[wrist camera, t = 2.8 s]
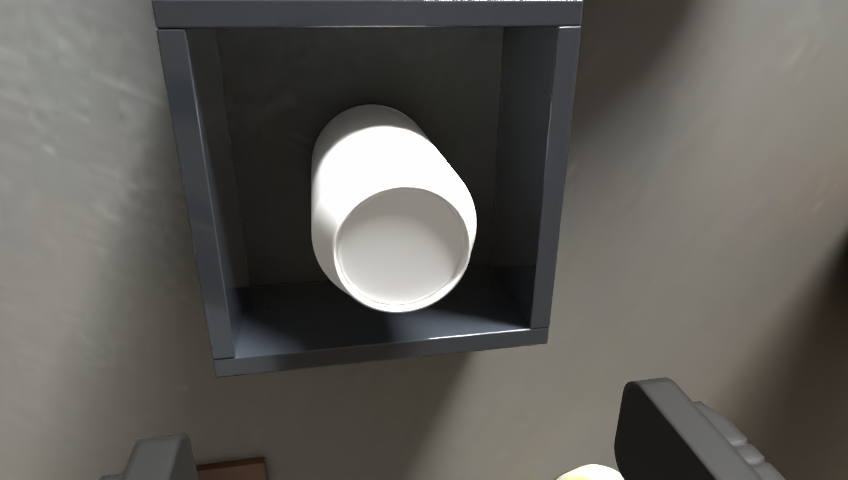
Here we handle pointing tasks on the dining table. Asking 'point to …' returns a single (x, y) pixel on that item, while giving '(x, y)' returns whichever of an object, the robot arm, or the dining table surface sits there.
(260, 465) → the coaster
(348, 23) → the grey open box
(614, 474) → the bread roll
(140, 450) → the robot arm
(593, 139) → the dining table surface
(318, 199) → the beverage can
